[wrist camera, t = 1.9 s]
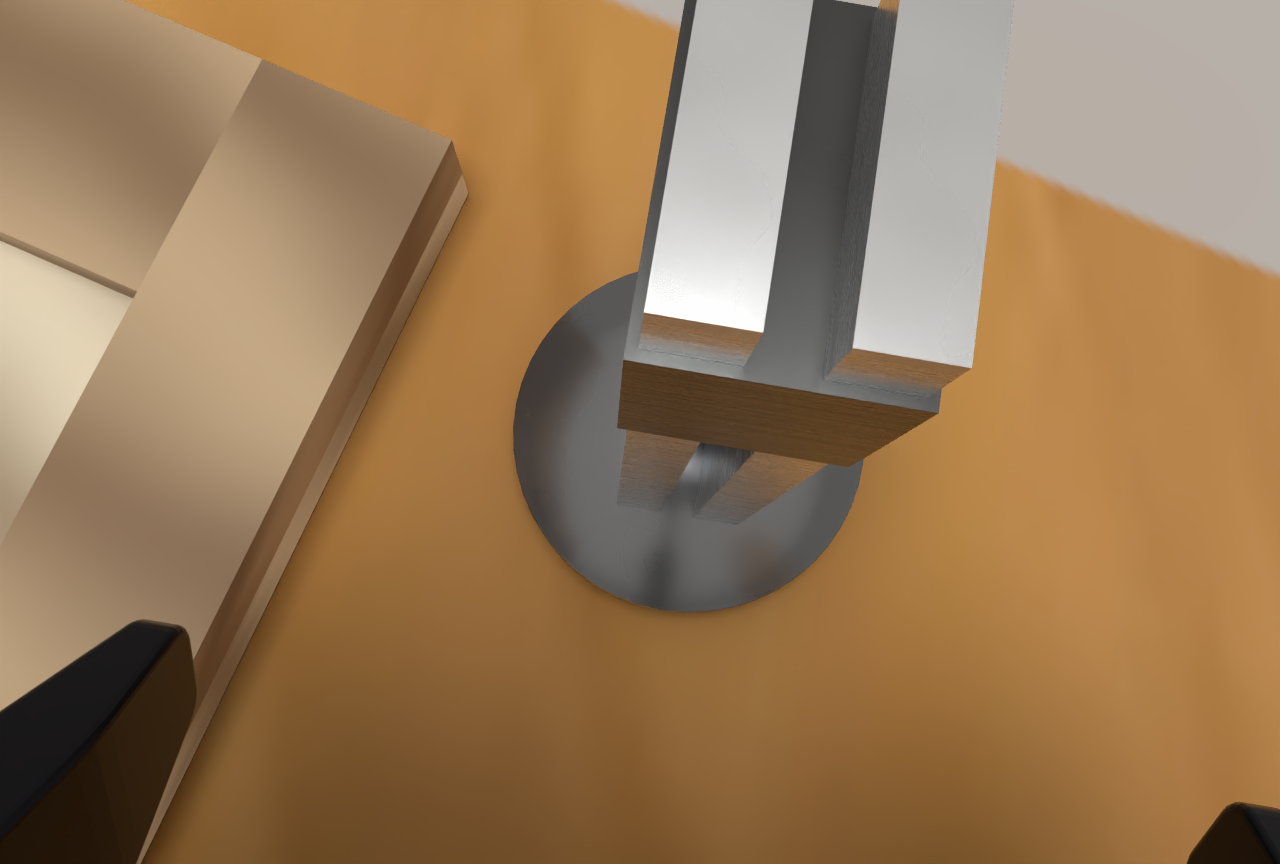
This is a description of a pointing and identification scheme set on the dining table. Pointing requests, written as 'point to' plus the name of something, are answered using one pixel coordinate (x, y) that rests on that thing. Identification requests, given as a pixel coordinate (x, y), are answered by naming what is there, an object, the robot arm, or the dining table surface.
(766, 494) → the round base pedestal
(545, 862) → the dining table surface
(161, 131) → the square wooden tray
